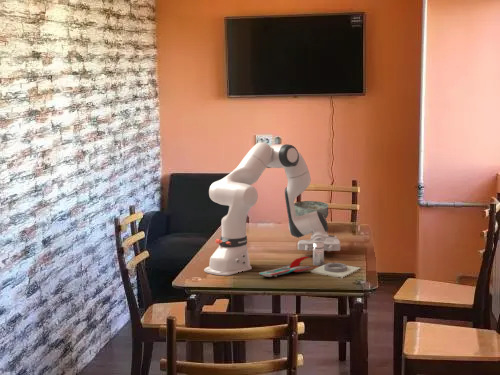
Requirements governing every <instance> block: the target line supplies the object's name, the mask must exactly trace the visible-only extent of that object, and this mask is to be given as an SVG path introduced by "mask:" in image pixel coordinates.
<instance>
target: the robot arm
mask: <svg viewBox="0 0 500 375" xmlns="http://www.w3.org/2000/svg"><path fill="white" fill-rule="evenodd" d="M266 168H267V169H284V172H285V176H286V178H287V186H286V187H285V188H284V200H285V205H286V211H287V219H288V230H289V233H290V234H291V236H293V237H294V238H298V239H299V238H302V237H305V236H306V235H310V234H311V235H310V239H299V241H297V251H306V252H311V251H313V242H323V243H324V252H325V251H326V252H331V251H333V252H336V251H338V252H340V251H341V241H340V240H339V238H338V237H337V236H336V235H331V234H329V232H328V229H329V226H328V222H327V218H325V216H324V215H323V214H322V213H321V212H319V211H315V212H312V213H308V214H306V215H302V216H299V217H298V216H296V212H295V206H294V203H295V200H296V198H297V197H299V196H300V195H301V194H302V193H303V192H305V191H306V190H307V189H308V187H309V186H310V185H311V181H312V178H311V173H310V170H309V168H308V165H307V162H306V161H305V159H304V157H303V155H302V154H301V153H300V152H299V151H298V149H297V148H296V146H294V145H291V144H289V143H288V144H287V143H286V144H272V145H269V144H268V143H266V142H263V141H261V142H260V141H259V142H257V143H256V144H254V145H253V146H252V147H251V148H250V149H249V151H248V152H247V153H246V154H245V155H244V156H243V158H242V160H240V163H239V164H238V165H237V167H235V168H234V169H233V170H232V171H231V172H230V173H229V174H227V175H226V176H224V177H223V178H221V179H218V180H216V181H214V182H212V183H211V185H210V186H209V189H208V195H209V196H208V197H209V198H210V200H211V201H212V202H214V203H217V204H219V205H222V206H228V212H227V214H226V215H224V216H223V217H222V218H221V221H220V222H221V236H220V237H219V238H220V239H219V238H216V239H215V241H214V242H215V244H218V247H217V248H216V250H215V251H214V252H213V253H212V255H211V256H210V257H209V264H208V265H209V266H207V267H205V268H203V272H205V273H207V274H211V275H216V276H231V275H235V274H238V272H239V273H241V272H242V271H243V272H246V271H250V270H252V266H251V264H250V263H251V262H250V255H249V254H250V253H249V250H248V246H247V244H248V236H247V217H248V214H249V213H250V212H249V211H250V210H251V209H252V208H253V206H255V204H256V203H257V201H258V196H259V195H258V191H257V189H256V187H254V186H253V184H255V183H257V182H258V180H259V179H260V178H261V176H262V175H263V172H264V171H265V170H266Z"/></svg>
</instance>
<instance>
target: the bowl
mask: <svg viewBox="0 0 500 375" xmlns="http://www.w3.org/2000/svg"><path fill="white" fill-rule="evenodd" d="M294 206H295V212H296V216H298V217H299V216H302V215H306V214H308V213H312V212H315V211H319V212H321V213H322V214H323V215H324V216H325V218H326V219H327V218H328V216H329V204H328V203H326V202H325V201H324V202H323V201H313V200H304V201H296V202H294Z"/></svg>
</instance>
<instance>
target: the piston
mask: <svg viewBox="0 0 500 375" xmlns="http://www.w3.org/2000/svg"><path fill="white" fill-rule="evenodd" d="M312 265H313V266H314V267H316V266H317V267H320V266H322V265H325V251H324V243H323V242H313V250H312Z"/></svg>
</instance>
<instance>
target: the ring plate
mask: <svg viewBox="0 0 500 375" xmlns="http://www.w3.org/2000/svg"><path fill="white" fill-rule="evenodd" d="M358 269H360V270H361V267H360V266H359V267H358V266H353V265H347V264H346V263H341V262H328V263H327V262H326V263H324V265H322V266H317V267H315V268H312V269H310V273H311V274H318V275H322V276H327V275H328V276H329V277H333V278H338V277H341V278H340V279H343V277H344V278H345V276H346V277H348V276H349V274H350V275H352V274H354V273H356V272H358V271H359V270H358ZM357 270H358V271H357ZM355 271H356V272H355ZM353 272H354V273H353ZM351 273H352V274H351ZM347 275H348V276H347Z"/></svg>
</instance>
